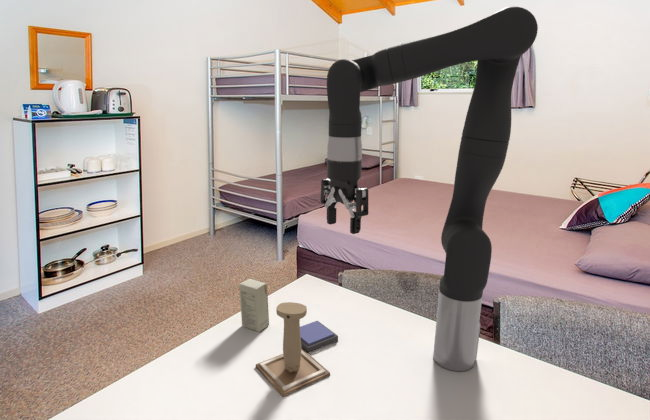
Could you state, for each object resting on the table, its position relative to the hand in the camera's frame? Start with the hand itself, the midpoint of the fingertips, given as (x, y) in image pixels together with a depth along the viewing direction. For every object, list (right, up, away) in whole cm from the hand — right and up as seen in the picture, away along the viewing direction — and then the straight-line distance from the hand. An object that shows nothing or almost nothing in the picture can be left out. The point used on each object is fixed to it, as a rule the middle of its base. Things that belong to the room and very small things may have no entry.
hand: (342, 228), depth 97 cm
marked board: (-11, -32, -2) cm, 34 cm away
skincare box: (-23, -27, +16) cm, 39 cm away
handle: (-11, -31, -2) cm, 33 cm away
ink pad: (-7, -28, +10) cm, 31 cm away
